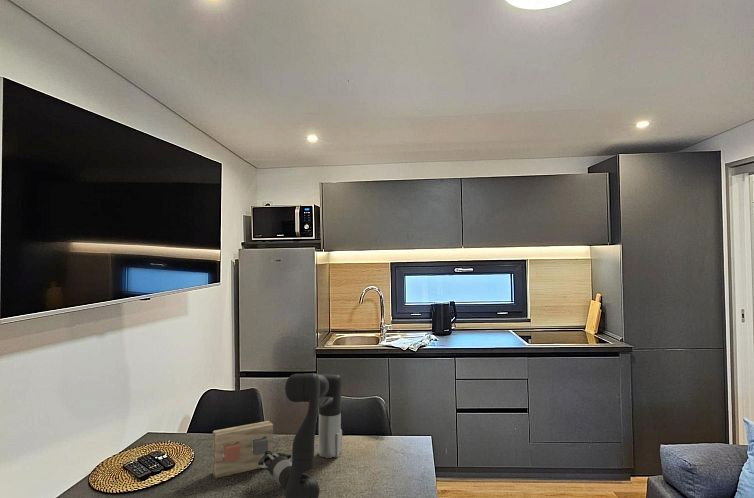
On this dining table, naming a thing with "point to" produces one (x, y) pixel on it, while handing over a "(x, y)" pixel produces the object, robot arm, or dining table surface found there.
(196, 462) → the dining table surface
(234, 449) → the brick red key
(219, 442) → the key panel
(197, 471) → the dining table surface
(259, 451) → the graphite key
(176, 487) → the dining table surface
